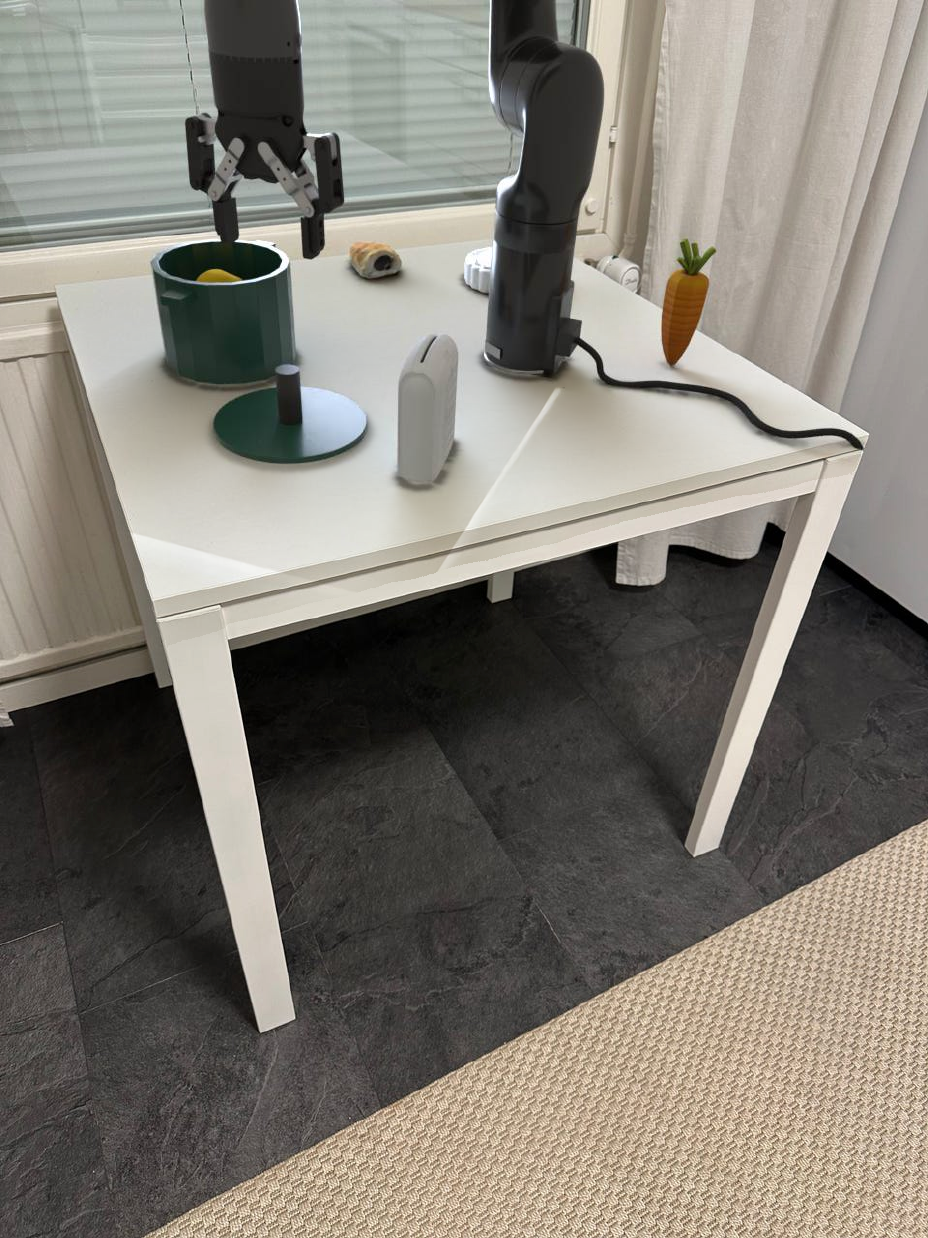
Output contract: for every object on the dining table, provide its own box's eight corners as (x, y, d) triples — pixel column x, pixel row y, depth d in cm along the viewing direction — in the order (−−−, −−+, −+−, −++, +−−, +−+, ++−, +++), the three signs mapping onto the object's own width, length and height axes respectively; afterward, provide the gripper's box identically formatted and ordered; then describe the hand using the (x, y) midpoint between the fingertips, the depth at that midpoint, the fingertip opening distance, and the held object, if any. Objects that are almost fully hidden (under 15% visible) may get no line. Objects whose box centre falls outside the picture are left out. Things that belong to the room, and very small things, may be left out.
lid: (390, 413, 100) (390, 354, 95) (326, 482, 88) (323, 418, 84) (261, 385, 103) (256, 327, 99) (184, 448, 92) (174, 385, 87)
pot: (326, 340, 113) (322, 244, 106) (244, 409, 98) (232, 303, 91) (222, 320, 117) (211, 225, 109) (127, 382, 102) (106, 278, 94)
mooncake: (549, 299, 128) (552, 273, 126) (463, 295, 128) (464, 268, 125) (544, 270, 137) (547, 245, 135) (464, 265, 137) (465, 240, 134)
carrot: (698, 366, 113) (727, 241, 104) (676, 378, 110) (704, 250, 101) (665, 353, 116) (690, 229, 106) (642, 364, 113) (666, 238, 103)
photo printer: (418, 433, 96) (421, 318, 88) (458, 439, 96) (464, 324, 88) (391, 483, 89) (392, 361, 81) (435, 490, 88) (440, 368, 80)
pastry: (338, 259, 136) (337, 232, 134) (380, 254, 139) (380, 228, 136) (364, 280, 130) (363, 252, 127) (407, 275, 132) (407, 248, 130)
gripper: (152, 41, 74) (181, 248, 84) (311, 61, 71) (321, 274, 81) (204, 30, 80) (225, 226, 90) (354, 49, 76) (357, 250, 87)
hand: (270, 248), depth 85 cm, fingers open, 8 cm apart
